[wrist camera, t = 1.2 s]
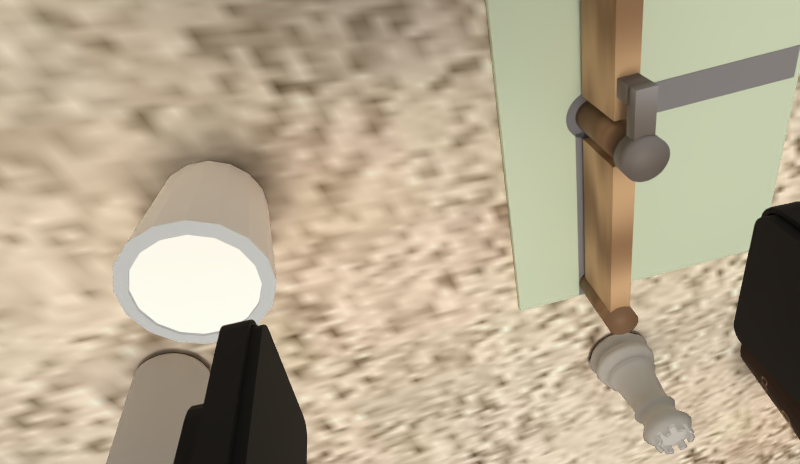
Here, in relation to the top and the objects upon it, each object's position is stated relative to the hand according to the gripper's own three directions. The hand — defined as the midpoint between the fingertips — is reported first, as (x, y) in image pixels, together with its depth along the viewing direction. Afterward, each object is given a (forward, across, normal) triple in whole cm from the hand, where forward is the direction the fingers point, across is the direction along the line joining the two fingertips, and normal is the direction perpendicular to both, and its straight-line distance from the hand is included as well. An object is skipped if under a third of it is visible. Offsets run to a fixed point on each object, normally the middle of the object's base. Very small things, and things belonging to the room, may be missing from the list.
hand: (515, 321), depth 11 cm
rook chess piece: (+21, -13, +25) cm, 35 cm away
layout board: (+20, -14, +5) cm, 25 cm away
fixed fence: (+20, -10, +11) cm, 25 cm away
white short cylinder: (+20, +11, +6) cm, 23 cm away
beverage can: (+20, +18, +17) cm, 32 cm away
